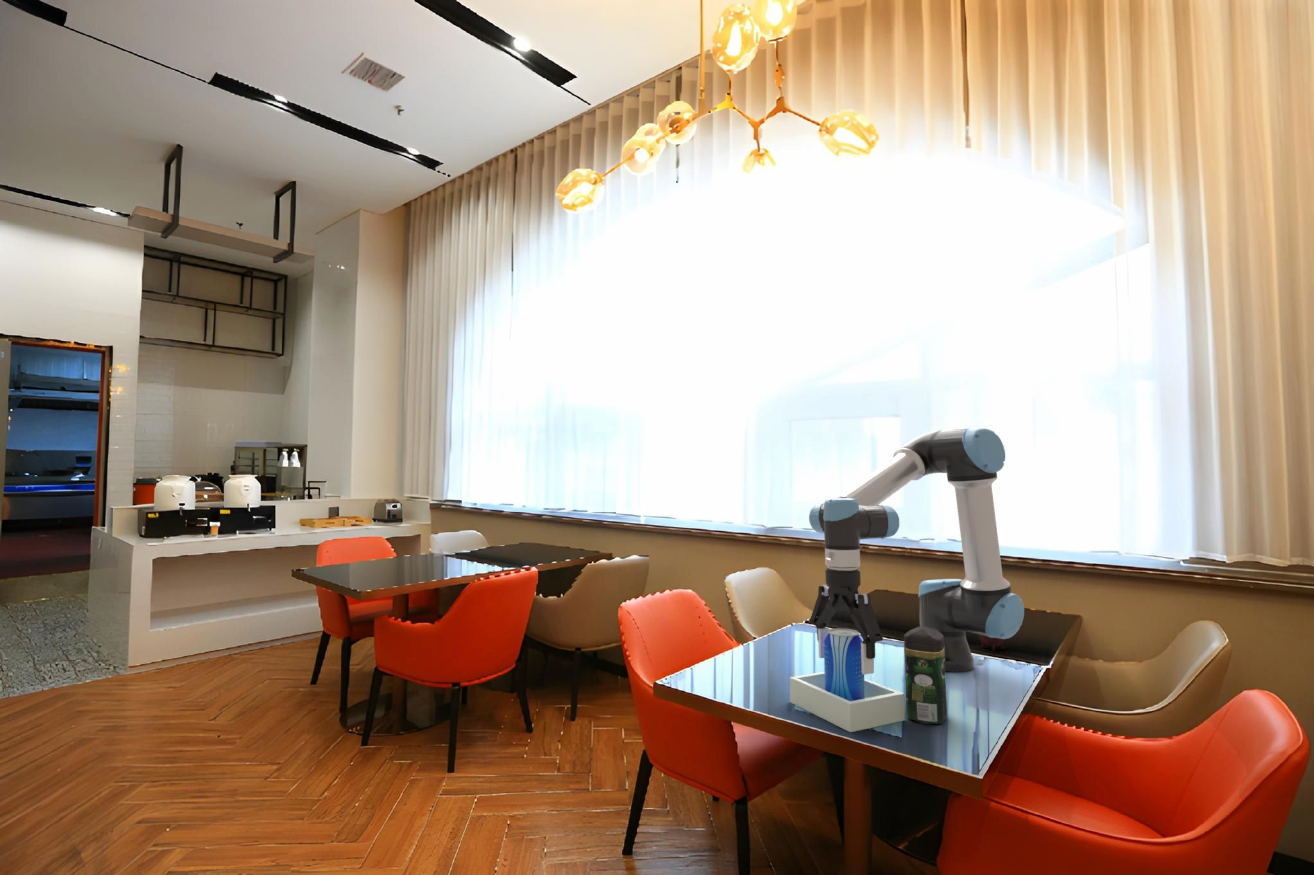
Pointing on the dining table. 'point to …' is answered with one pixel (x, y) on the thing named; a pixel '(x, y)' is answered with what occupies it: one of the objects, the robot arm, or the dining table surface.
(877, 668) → the dining table surface
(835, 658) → the beer can
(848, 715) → the tote
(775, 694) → the dining table surface
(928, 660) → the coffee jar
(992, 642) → the mate gourd
